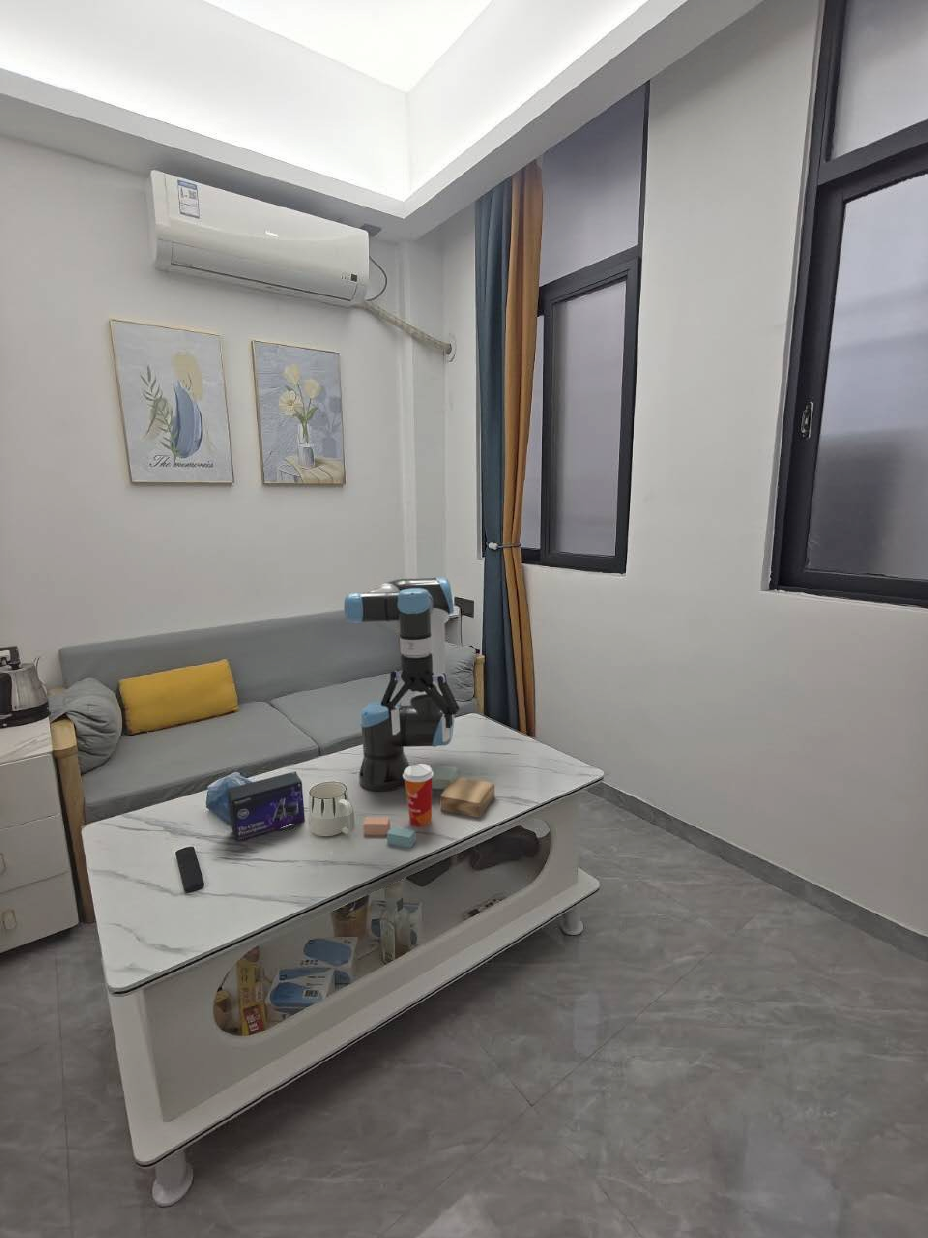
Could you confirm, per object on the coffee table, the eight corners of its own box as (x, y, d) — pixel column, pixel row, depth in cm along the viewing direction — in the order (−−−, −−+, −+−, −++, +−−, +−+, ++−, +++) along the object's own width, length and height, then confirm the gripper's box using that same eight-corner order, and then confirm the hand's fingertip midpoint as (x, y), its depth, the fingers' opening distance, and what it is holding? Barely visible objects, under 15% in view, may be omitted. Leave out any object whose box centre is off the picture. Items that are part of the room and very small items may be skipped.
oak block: (440, 809, 152) (440, 795, 151) (457, 789, 162) (457, 776, 161) (479, 817, 148) (478, 803, 147) (494, 796, 157) (494, 783, 157)
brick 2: (387, 844, 138) (386, 833, 137) (392, 837, 140) (392, 826, 140) (410, 848, 136) (409, 837, 135) (415, 841, 139) (414, 830, 138)
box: (236, 844, 140) (230, 799, 137) (231, 831, 145) (226, 787, 143) (306, 822, 148) (302, 780, 145) (299, 811, 154) (295, 769, 151)
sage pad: (423, 787, 164) (422, 777, 163) (431, 774, 171) (430, 764, 171) (450, 790, 162) (450, 780, 161) (457, 776, 169) (457, 767, 169)
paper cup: (402, 816, 149) (399, 766, 146) (430, 809, 152) (428, 760, 149) (410, 832, 142) (407, 779, 139) (439, 825, 145) (437, 773, 142)
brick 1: (364, 835, 142) (363, 824, 141) (366, 828, 145) (365, 817, 144) (388, 835, 141) (387, 824, 141) (390, 828, 144) (389, 817, 144)
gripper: (363, 654, 139) (369, 736, 144) (459, 661, 130) (462, 749, 135) (378, 646, 146) (383, 724, 151) (470, 653, 137) (473, 736, 142)
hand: (420, 736), depth 143 cm, fingers open, 13 cm apart
